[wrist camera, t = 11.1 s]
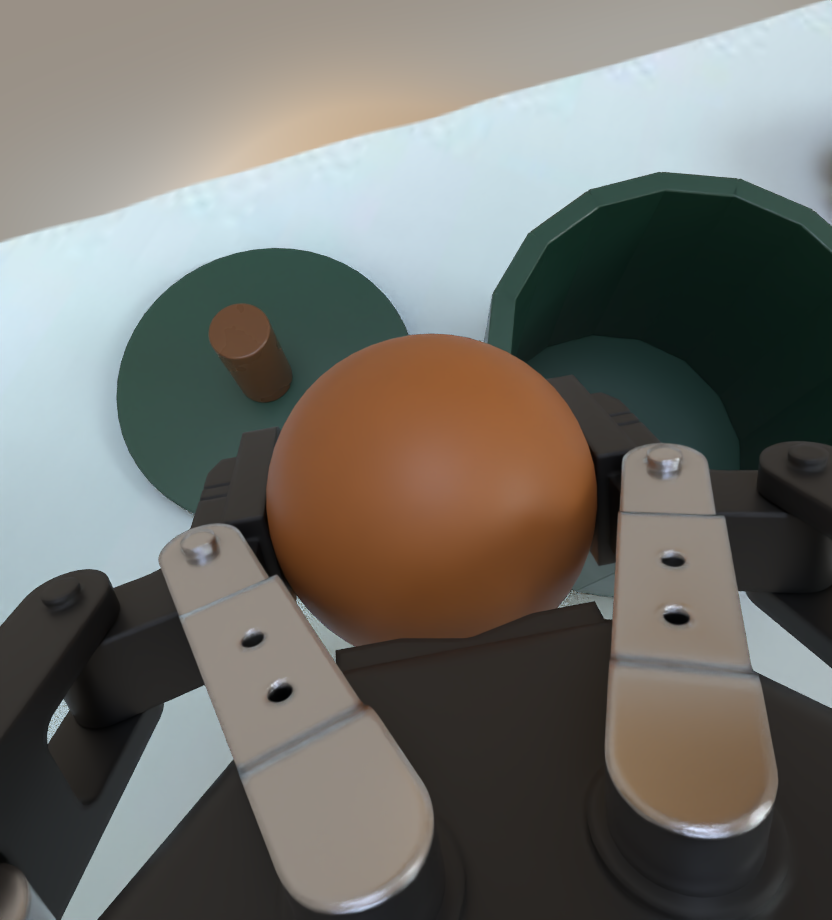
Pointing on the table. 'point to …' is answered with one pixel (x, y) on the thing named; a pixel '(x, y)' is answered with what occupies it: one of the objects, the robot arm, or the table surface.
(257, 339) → the lid
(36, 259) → the table surface
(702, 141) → the table surface
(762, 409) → the pot
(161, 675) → the robot arm
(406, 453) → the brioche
